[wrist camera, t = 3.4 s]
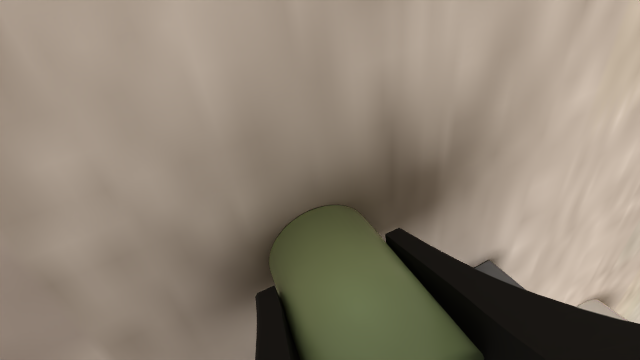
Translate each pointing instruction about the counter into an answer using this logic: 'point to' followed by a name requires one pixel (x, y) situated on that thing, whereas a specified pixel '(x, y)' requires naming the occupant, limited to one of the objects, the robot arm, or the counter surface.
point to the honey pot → (600, 309)
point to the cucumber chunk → (357, 295)
